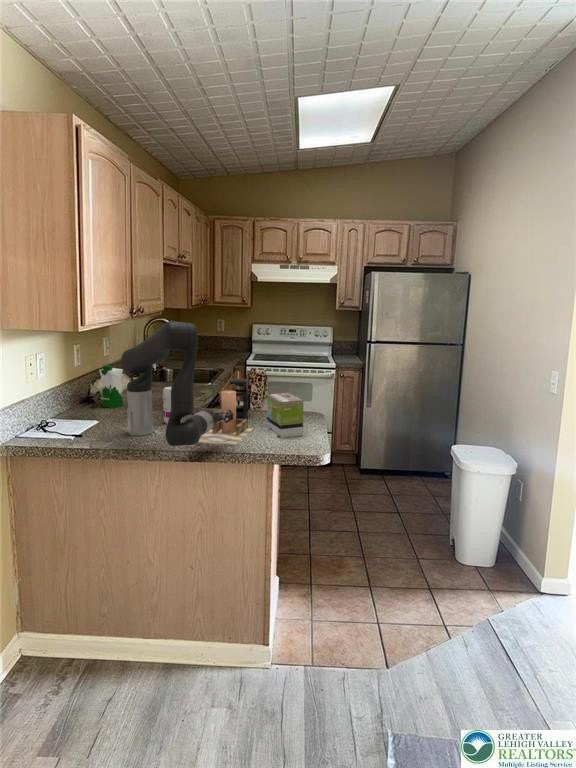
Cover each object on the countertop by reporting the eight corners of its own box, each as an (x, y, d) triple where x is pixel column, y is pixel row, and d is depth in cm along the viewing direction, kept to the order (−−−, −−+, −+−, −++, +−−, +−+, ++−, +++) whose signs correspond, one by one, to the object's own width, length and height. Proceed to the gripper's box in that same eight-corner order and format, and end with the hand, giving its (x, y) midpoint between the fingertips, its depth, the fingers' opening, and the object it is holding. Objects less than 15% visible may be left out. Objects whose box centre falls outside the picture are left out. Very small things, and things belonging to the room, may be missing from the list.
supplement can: (187, 422, 229) (186, 388, 227) (171, 425, 223) (170, 390, 221) (176, 419, 235) (175, 385, 232) (159, 422, 229) (158, 388, 226)
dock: (234, 447, 194) (234, 435, 193) (193, 444, 198) (193, 432, 197) (254, 430, 218) (254, 419, 217) (217, 427, 222) (217, 416, 221)
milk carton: (99, 406, 257) (97, 365, 254) (114, 403, 265) (112, 363, 261) (111, 409, 253) (109, 367, 249) (126, 405, 260) (124, 364, 257)
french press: (236, 421, 232) (236, 368, 228) (222, 417, 239) (221, 366, 234) (256, 416, 241) (256, 366, 236) (242, 413, 247) (242, 363, 243)
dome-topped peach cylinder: (233, 433, 209) (233, 393, 206) (219, 432, 210) (219, 392, 207) (240, 428, 217) (240, 389, 214) (227, 427, 218) (226, 388, 215)
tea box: (266, 429, 220) (266, 393, 218) (288, 426, 224) (288, 392, 222) (280, 438, 207) (280, 401, 204) (303, 436, 211) (304, 399, 208)
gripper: (222, 412, 182) (237, 403, 197) (183, 410, 185) (201, 401, 200) (222, 434, 183) (237, 423, 198) (183, 431, 186) (201, 420, 202)
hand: (219, 412), depth 199 cm, fingers open, 8 cm apart
